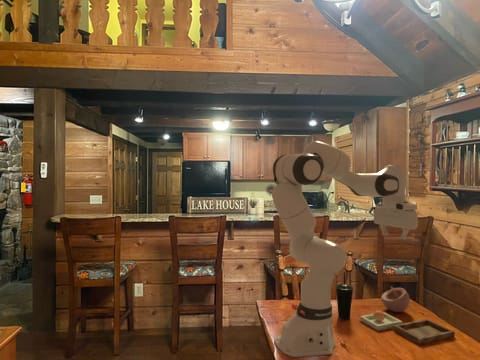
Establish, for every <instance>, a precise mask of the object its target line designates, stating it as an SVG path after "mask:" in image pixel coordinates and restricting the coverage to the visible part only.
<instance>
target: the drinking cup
mask: <svg viewBox="0 0 480 360" xmlns="http://www.w3.org/2000/svg"><path fill="white" fill-rule="evenodd" d="M335 289H336V291H335V292H336V305H337V315H338V318H339V319H341V320H343V321H347V320H348V321H349V320H350V319H351V314H352V313H351V311H352V302H353V300H352V299H353V292H354V286H352V285H350V284H349V283H346V272H345V271H344V272H343V283H338V284H335Z"/></svg>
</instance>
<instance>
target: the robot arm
mask: <svg viewBox="0 0 480 360" xmlns="http://www.w3.org/2000/svg"><path fill="white" fill-rule="evenodd" d="M351 164H352V161H351V157H350V156H349V155H348V154H347V153H346V152H345V151H343V150H342V149H339V148H338V147H336V146H334V145H331V144H328V143H326V142H323V141H318V140H311V142H309V143H307V145H306V146H304V149H303V151H302V153H289V154H283V155H280V156H278V158H276V159H275V161H273V164H272V174H273V181H274V183H275V184H276V185H275V186H274V187H273V188H272V191H271V198H272V200H273V204H274V207H275V209H276V212H277V214H278V216H279V218H280V220H281V222H282V224H283V226H285V227H284V228H285V229H286V231H287V233H288V235H289V239H290V242H289V245H288V251H289V254H290V256H291V257H293V259H295V260H296V261H297V262H298V263H301V264H304V265H306V266H309V267H308V269H309V272H308V275H307V276H306V277H304V278H303V279H302V280H301V283H300V301H299V304H298V305H297V304H296V303H292V304H291V305H290V306H291V309H293V310H294V311H296V313H294V314H293V315H292V316H291V317H290V318H289V319H287V320H286V321H285V322H283V324H282V326H281V330H280V334H279V335H275V337H274V344H275V345H276V347H277V348H278V349H279V350H280V351H281V352H282V353H283V354H285V355H287V356H288V357H291V358H299V357H312V356H313V357H314V356H323V355H332V354H333V349H334V348H335V346H336V341H335V336H334V333H333V325H332V324H333V323H332V317H333V305H332V285H333V281H334V278H335V276H336V275H337V273H338V272H340V271H341V270H342V269H343V268H344V267H345V265H346V262H347V254H346V250H345V249H344V248H343V247H342V246H341V245H340V244H337V243H336V242H334V241H332V240H327V239H324V238H320V237H318V236H317V235H316V233H315V228H316V224H317V220H316V217H315V216H314V214H313V212H312V210H311V208H310V205H309V204H308V202H307V200H306V198H305V197H304V194H303V190H302V186H309V185H312V184H315V183H317V182H318V181H319V180H320V178H321V177H322V175H324V176H326V177H329V178H331V179H333V180H335V181H337V182H339V183H341V184H342V185H344V186H345V187H347V188H348V189H349V190H350V191H351V192H352V194H353V195H355V196H356V197H379V198H380V197H381V198H382V202H378V203H377V204H375V207H374V208H375V209H374V211H373V223H374V224H375V225H380V230H381V231H382V236H384V237H387V236H389V231H388V230H387V227H393V228H397V229H398V228H399V229H402V230H401V231H402V233H401V234H400V235H399V239H400V240H404V241H405V240H407V236H408V234H409V232H410V230H416V229H417V228H418V226H419V217H418V216H419V215H418V212H417V211H416V210H417V209H418V205H417V204H415V203H413V202H412V201H409V200H407V195H406V188H407V176H406V171H405V169H404V167H402V166H400V165H393V164H387V165H384V167H383V169H382V170H380V171H378V172H374V173H355V172H353V171H352V170H350V168H351V166H352V165H351Z"/></svg>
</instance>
